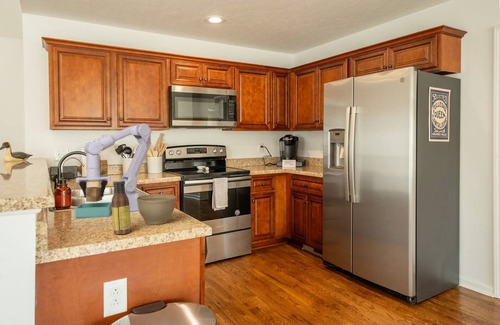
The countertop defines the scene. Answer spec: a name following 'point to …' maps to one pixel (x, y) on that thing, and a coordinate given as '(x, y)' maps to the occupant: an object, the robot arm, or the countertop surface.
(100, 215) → the teal bin
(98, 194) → the walnut block
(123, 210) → the sauce bottle
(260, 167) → the countertop surface
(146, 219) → the planter bowl
